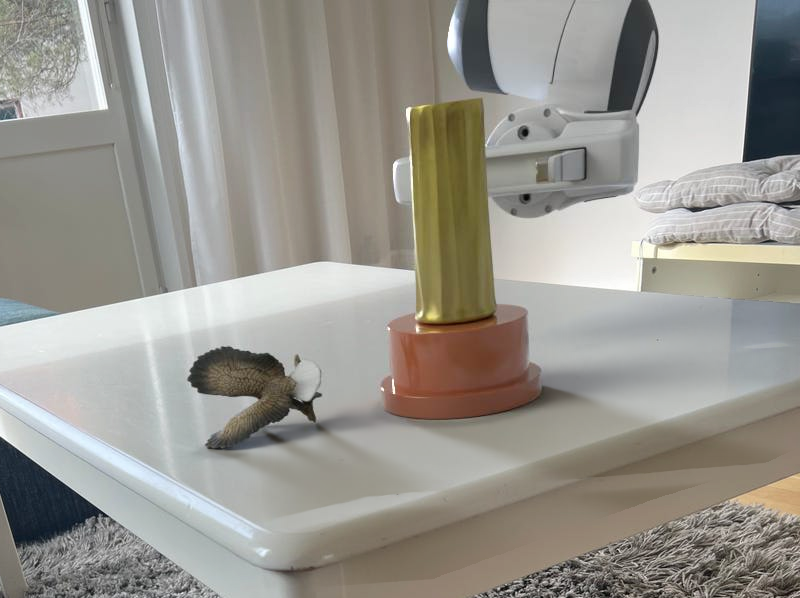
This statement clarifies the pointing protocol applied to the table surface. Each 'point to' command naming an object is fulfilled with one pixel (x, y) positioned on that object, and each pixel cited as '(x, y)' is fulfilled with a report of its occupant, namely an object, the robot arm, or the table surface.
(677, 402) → the table surface
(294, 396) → the eagle figurine
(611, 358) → the table surface
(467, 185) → the vase
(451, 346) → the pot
